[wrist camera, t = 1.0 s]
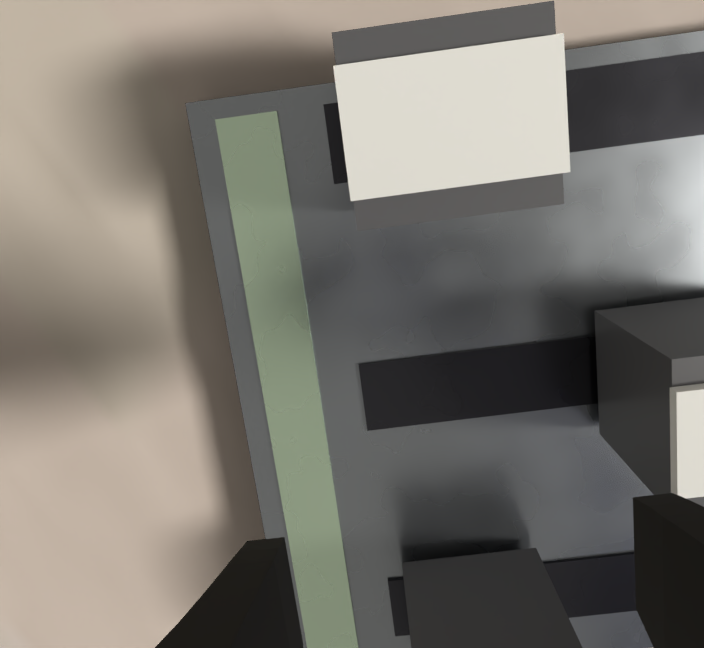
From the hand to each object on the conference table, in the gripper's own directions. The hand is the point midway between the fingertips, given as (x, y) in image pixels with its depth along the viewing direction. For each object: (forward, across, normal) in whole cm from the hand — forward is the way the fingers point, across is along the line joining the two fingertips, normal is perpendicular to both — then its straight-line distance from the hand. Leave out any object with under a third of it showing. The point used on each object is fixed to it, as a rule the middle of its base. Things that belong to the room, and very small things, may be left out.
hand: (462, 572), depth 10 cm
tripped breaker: (+8, -7, 0) cm, 11 cm away
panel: (+10, -7, 0) cm, 12 cm away
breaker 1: (+8, -1, -7) cm, 11 cm away
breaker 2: (+8, -1, +7) cm, 11 cm away
